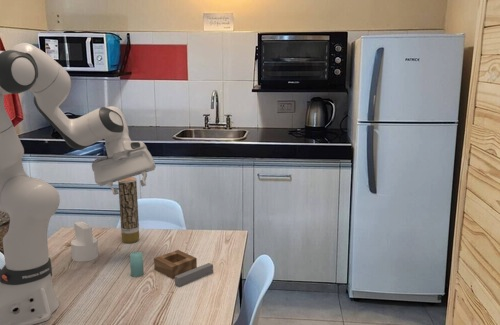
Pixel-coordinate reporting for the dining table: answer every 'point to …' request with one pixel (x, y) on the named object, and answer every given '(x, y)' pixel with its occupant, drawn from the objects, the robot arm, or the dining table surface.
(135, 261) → the teal rounded peg
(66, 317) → the dining table surface
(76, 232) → the base with upright slab
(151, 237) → the dining table surface
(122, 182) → the wooden log cylinder
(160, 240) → the dining table surface
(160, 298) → the dining table surface
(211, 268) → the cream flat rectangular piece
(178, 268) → the socket block
